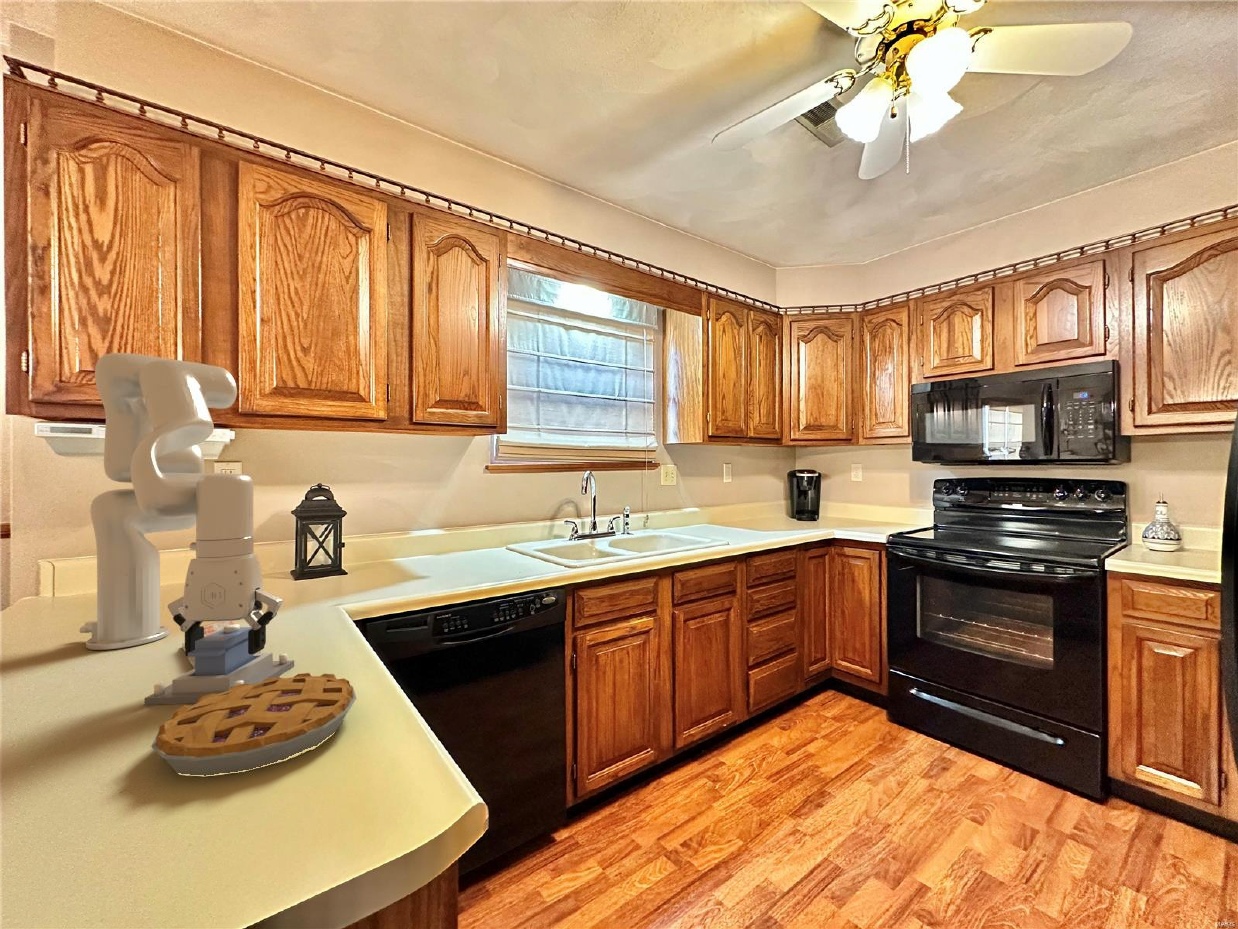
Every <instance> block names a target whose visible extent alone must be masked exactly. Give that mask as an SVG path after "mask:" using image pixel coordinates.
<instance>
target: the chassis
mask: <svg viewBox="0 0 1238 929" xmlns="http://www.w3.org/2000/svg"><path fill="white" fill-rule="evenodd" d="M273 655H274V654H273V652H260V653H255V654H254V660H253V661H251V662H249V663H247V664H245V665H244V666H242V667H240V668H238V669H237V670H235V671H233V672H231V673H230V674H228V675H216V676H195V669H194V668H193V669H191V670H189V671H187V672H185V673H183V674H181V675H179V676H177V677H175V678H173V679H172V681H171V682H172V683H171V684H169V685H165V683H164V682H161V683H160V682H159V683H156V684H154V685H153V689H154V690H153V693H152V694H150V695H148V696H146V697H144V699H143V700H144V701H143V702H144V706H153V705H176V704H179V705H180V704H181V705H183V704H196V703H197V701H198V699H199V697H201V696H205V695H209V694H220V693H223V692H226V691H228V690H230V688H231V687H232V686H236V685H240V684H244V683H246V684H249V685H250V684H255V683H260V682H262V681H264V680H266V679H270V678H276V677H278V676H279V677H280V676H282V675H283V674H285V673H286V672H287V671H289V670H290V668H291V667H292V668H294V667H295V660H288V653H281V654H279V655H278V660H273V659H274V658H273ZM292 668H291V669H292ZM285 671H286V672H285ZM284 672H285V673H284ZM281 674H282V675H281ZM165 686H166V687H165Z"/></svg>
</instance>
